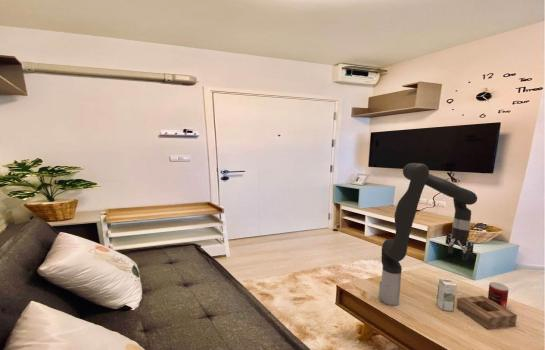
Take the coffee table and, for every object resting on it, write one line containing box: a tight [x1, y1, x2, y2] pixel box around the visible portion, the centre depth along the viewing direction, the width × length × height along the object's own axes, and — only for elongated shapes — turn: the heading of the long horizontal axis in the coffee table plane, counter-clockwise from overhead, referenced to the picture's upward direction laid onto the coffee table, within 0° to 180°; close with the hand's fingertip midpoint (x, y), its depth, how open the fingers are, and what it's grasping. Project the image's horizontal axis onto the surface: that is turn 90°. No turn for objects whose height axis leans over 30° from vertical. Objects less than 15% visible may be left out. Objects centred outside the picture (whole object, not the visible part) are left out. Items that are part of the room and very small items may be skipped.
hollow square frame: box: [456, 295, 518, 330], centre depth 126 cm, size 16×16×6 cm
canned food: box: [487, 281, 509, 309], centre depth 136 cm, size 8×8×11 cm
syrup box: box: [435, 278, 457, 312], centre depth 132 cm, size 6×6×14 cm
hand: (457, 256), depth 139 cm, fingers open, 8 cm apart
